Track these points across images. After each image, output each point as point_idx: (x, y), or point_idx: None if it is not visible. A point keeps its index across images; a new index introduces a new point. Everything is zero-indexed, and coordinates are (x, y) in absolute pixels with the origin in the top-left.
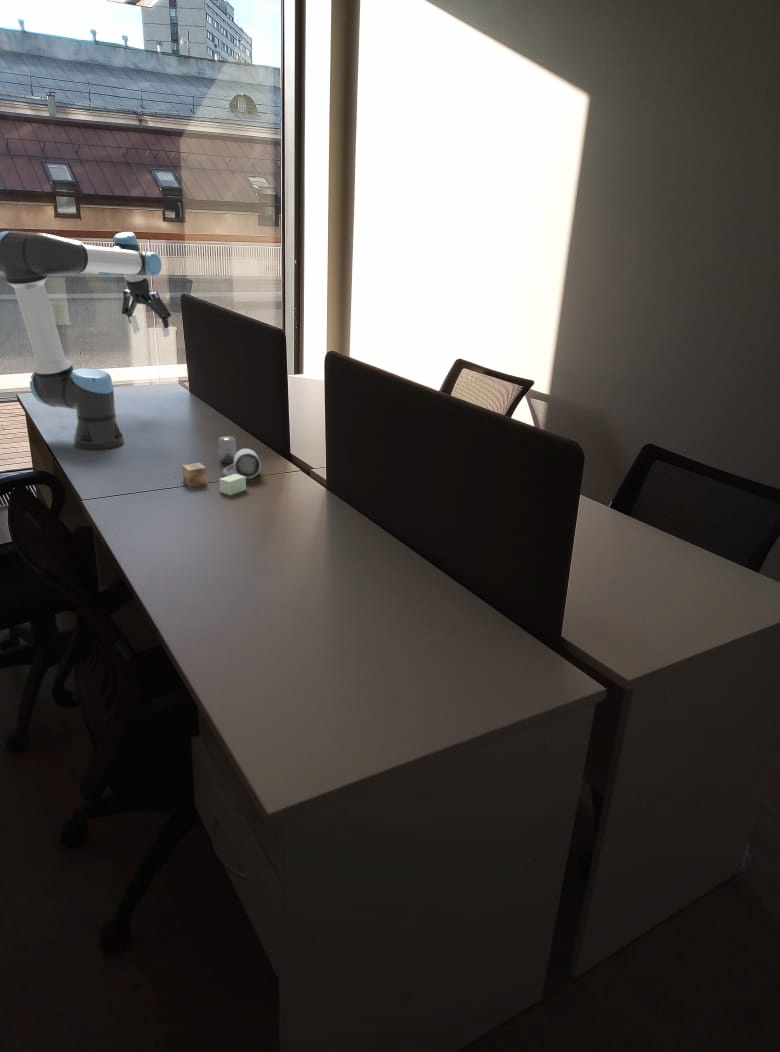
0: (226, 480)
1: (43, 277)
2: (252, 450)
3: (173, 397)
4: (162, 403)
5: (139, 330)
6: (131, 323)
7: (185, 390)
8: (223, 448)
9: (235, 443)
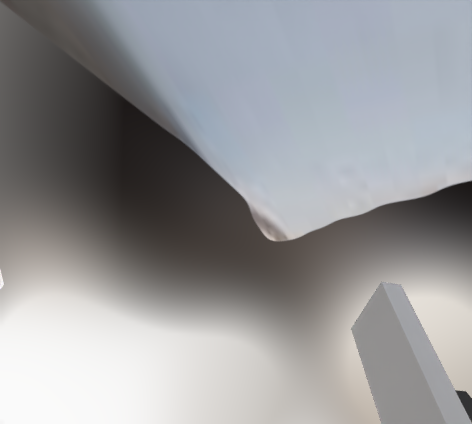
0: None
1: None
2: None
3: (236, 119)
4: (234, 25)
5: (354, 326)
6: (451, 396)
7: (241, 192)
8: None
9: None
